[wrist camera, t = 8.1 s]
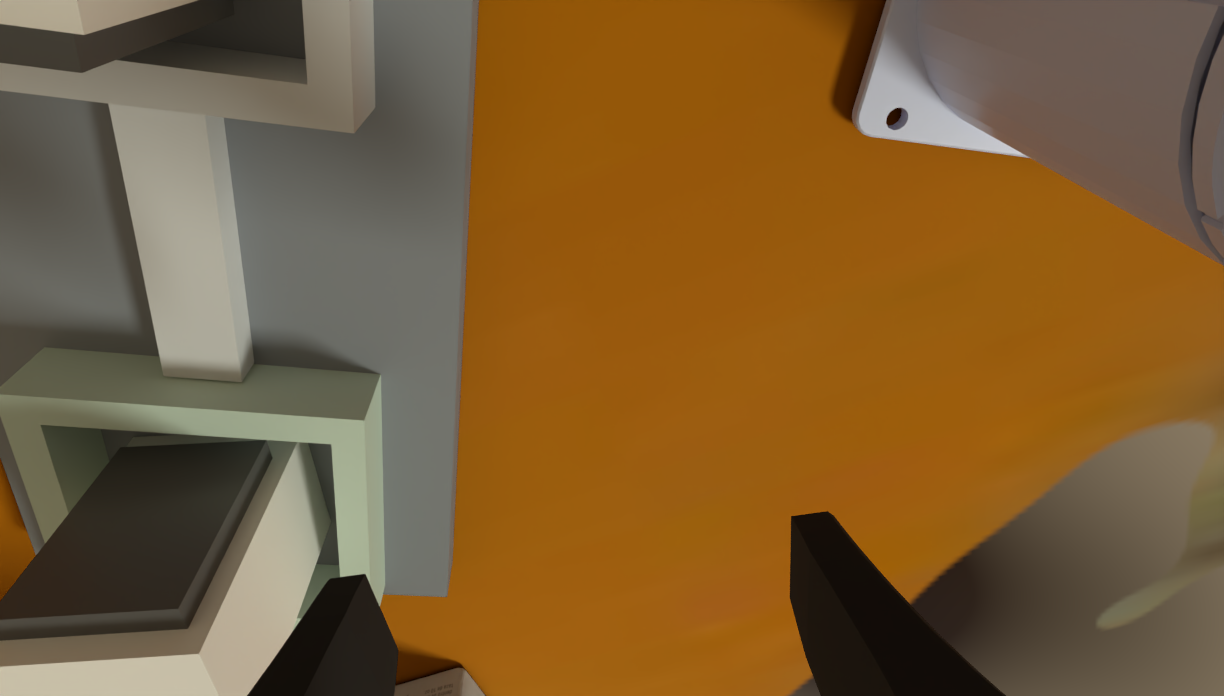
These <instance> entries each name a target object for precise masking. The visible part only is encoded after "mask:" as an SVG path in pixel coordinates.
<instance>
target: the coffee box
mask: <svg viewBox="0 0 1224 696" xmlns="http://www.w3.org/2000/svg"><path fill="white" fill-rule="evenodd" d="M394 696H485V695H484V693H483V692H482V691H481V689H480V688H479V687H478V685H477V684H476V683H475V682H474V680H473V679H472V678H471V676H470V675H469V674H468V672H467V671H466V670H465V669H463V668H455V669H451V670H448V671H444V672H441V673H438V674H434V675H431V676H427V677H424V678H421V679H417V680H414V681H410V682H407V683H404V684H400V685H397V686H395V692H394Z"/></svg>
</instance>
